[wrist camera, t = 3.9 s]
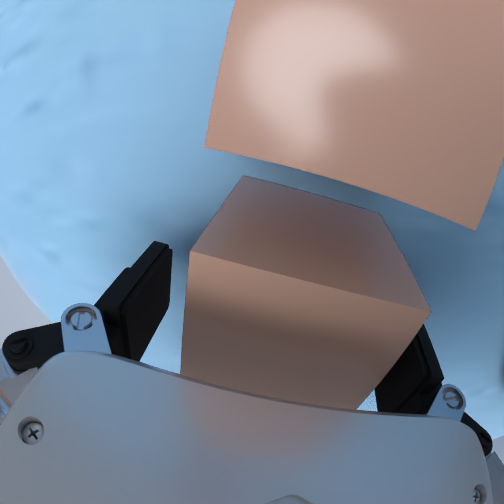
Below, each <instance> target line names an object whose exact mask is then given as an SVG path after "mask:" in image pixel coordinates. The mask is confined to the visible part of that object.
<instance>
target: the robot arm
mask: <svg viewBox="0 0 504 504" xmlns="http://www.w3.org/2000/svg"><path fill="white" fill-rule="evenodd" d="M172 253H173V251H172V249H169V245H168V244H165V243H161V242H157V241H154V242H153V243H152V244H151V245H150V246H149V247H148V248H147V249H146V251H145V252H144V253H143V254H142V255H141V256H140V257H139V259H138V260H137V261H136V262H135V263H134V264H133V266H132V267H131V268H130V267H127V268H125V269H124V270H123V271H122V273H121V274H120V275H119V276H118V277H117V278H116V280H115V281H114V282H113V283H112V284H111V285H110V287H109V288H108V289H107V290H106V291H105V293H104V294H103V295H102V296H101V297H100V299H99V300H98V301H97V302H96V303H95V305H94V306H93V305H91V304H87V303H78V304H74V305H72V306H70V307H68V308H67V309H66V310H65V311H64V312H63V314H62V316H61V322H58V323H53V324H49V325H45V326H40V327H35V328H31V329H26V330H21V331H17V332H14V333H12V334H11V335H9V336H8V337H7V338H6V339H5V341H4V343H3V346H2V349H0V504H504V465H503V463H502V462H501V460H500V459H499V457H498V456H497V454H496V453H495V452H493V453H491V450H492V439H491V436H490V435H489V433H488V432H487V431H486V430H485V429H484V428H482V427H481V426H480V425H479V424H478V423H477V422H476V421H474V420H473V419H472V418H471V417H470V416H469V415H468V414H466V413H465V412H464V410H465V407H466V400H465V397H464V395H463V393H462V392H461V391H460V390H459V389H458V388H457V387H456V386H454V385H451V384H445V385H443V386H442V383H441V382H442V381H443V379H444V376H443V373H442V370H441V368H440V365H439V362H438V359H437V357H436V354H435V351H434V349H433V346H432V343H431V341H430V338H429V336H428V333H427V331H426V328H425V326H424V324H423V325H422V327H421V328H420V330H419V331H418V332H417V334H416V335H415V337H414V338H413V340H412V341H411V342H410V344H409V345H408V347H407V348H406V349H405V351H404V352H403V353H402V355H401V356H400V357H399V359H398V360H397V361H396V363H395V364H394V365H393V367H392V368H391V369H390V370H389V372H388V373H387V374H386V375H385V377H384V378H383V379H382V380H381V381H380V383H379V384H378V385H377V386H376V387H375V396H376V402H377V410H378V412H376V411H364V410H354V409H345V408H337V407H329V406H322V405H315V404H308V403H302V402H296V401H290V400H285V399H279V398H274V397H269V396H264V395H259V394H255V393H250V392H246V391H241V390H237V389H233V388H229V387H225V386H221V385H217V384H213V383H209V382H205V381H202V380H198V379H195V378H191V377H188V376H184V375H181V374H177V373H174V372H170V371H167V370H164V369H161V368H157V367H154V366H151V365H148V364H145V363H142V362H139V361H140V359H141V357H142V356H143V354H144V352H145V350H146V348H147V346H148V344H149V342H150V341H151V339H152V337H153V335H154V333H155V331H156V329H157V328H158V326H159V324H160V322H161V320H162V319H163V317H164V315H165V313H166V311H167V309H168V307H169V302H170V284H171V267H172Z"/></svg>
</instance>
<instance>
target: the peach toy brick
mask: <svg viewBox="0 0 504 504" xmlns="http://www.w3.org/2000/svg"><path fill="white" fill-rule="evenodd" d="M204 148H209V149H214V150H219V151H224V152H228V153H233V154H238V155H242V156H247V157H251V158H255V159H260V160H264V161H268V162H272V163H276V164H280V165H284V166H288V167H292V168H295V169H299V170H303V171H307V172H310V173H314V174H317V175H321V176H324V177H328V178H331V179H334V180H338V181H341V182H344V183H348V184H351V185H354V186H357V187H360V188H363V189H366V190H369V191H372V192H375V193H378V194H381V195H384V196H387V197H390V198H393V199H396V200H399V201H401V202H404V203H407V204H410V205H412V206H415V207H418V208H420V209H423V210H425V211H428V212H431V213H433V214H436V215H438V216H441V217H443V218H446V219H448V220H450V221H453V222H455V223H458V224H460V225H462V226H465V227H467V228H469V229H472V230H474V231H476V229H477V226H478V224H479V222H480V220H481V217H482V215H483V213H484V210H485V208H486V205H487V203H488V201H489V198H490V195H491V193H492V190H493V188H494V185H495V182H496V179H497V176H498V174H499V171H500V168H501V165H502V162H503V158H504V0H235V4H234V8H233V12H232V16H231V20H230V24H229V28H228V32H227V36H226V41H225V45H224V49H223V54H222V58H221V63H220V67H219V72H218V77H217V82H216V87H215V92H214V97H213V102H212V107H211V112H210V118H209V123H208V129H207V135H206V141H205V147H204Z"/></svg>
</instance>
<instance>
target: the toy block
mask: <svg viewBox="0 0 504 504" xmlns="http://www.w3.org/2000/svg"><path fill="white" fill-rule="evenodd" d="M430 313H431V310H430V308H429V306H428V304H427V301H426V299H425V297H424V295H423V293H422V291H421V289H420V287H419V285H418V283H417V281H416V279H415V277H414V275H413V273H412V271H411V269H410V267H409V265H408V263H407V261H406V259H405V258H404V256H403V254H402V252H401V250H400V248H399V246H398V245H397V243H396V241H395V239H394V238H393V236H392V234H391V232H390V231H389V229H388V227H387V225H386V224H385V222H384V220H383V219H382V217H381V215H380V214H379V213H376V212H373V211H370V210H366V209H363V208H360V207H357V206H354V205H350V204H347V203H344V202H340V201H337V200H334V199H330V198H327V197H323V196H320V195H316V194H313V193H309V192H305V191H302V190H298V189H294V188H290V187H287V186H283V185H279V184H275V183H271V182H267V181H263V180H259V179H255V178H251V177H247V176H242V178H241V179H240V181H239V182H238V183H237V185H236V186H235V187H234V189H233V190H232V192H231V193H230V194H229V196H228V197H227V198H226V200H225V201H224V203H223V204H222V205H221V207H220V208H219V210H218V211H217V213H216V214H215V215H214V217H213V218H212V220H211V221H210V223H209V224H208V225H207V227H206V228H205V230H204V231H203V233H202V234H201V236H200V237H199V238H198V240H197V241H196V243H195V244H194V246H193V247H192V249H191V250H190V256H189V266H188V276H187V286H186V297H185V309H184V322H183V336H182V352H181V371H180V374H181V375H184V376H188V377H191V378H195V379H198V380H202V381H205V382H209V383H213V384H217V385H221V386H225V387H229V388H233V389H237V390H241V391H246V392H250V393H255V394H259V395H264V396H269V397H274V398H279V399H285V400H290V401H296V402H302V403H308V404H315V405H322V406H329V407H337V408H345V409H354V410H356V409H357V408H358V407H359V406H360V405H361V404H362V402H363V401H364V400H365V399H366V398H367V397H368V396H369V395H370V393H371V392H372V391H373V390H374V389H375V387H376V386H377V385H378V384H379V383H380V381H381V380H382V379H383V378H384V377H385V375H386V374H387V373H388V372H389V370H390V369H391V368H392V367H393V365H394V364H395V363H396V361H397V360H398V359H399V357H400V356H401V355H402V353H403V352H404V351H405V349H406V348H407V347H408V345H409V344H410V342H411V341H412V340H413V338H414V337H415V335H416V334H417V332H418V331H419V330H420V328H421V327H422V325H423V324H424V322H425V321H426V319H427V318H428V316H429V314H430Z"/></svg>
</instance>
